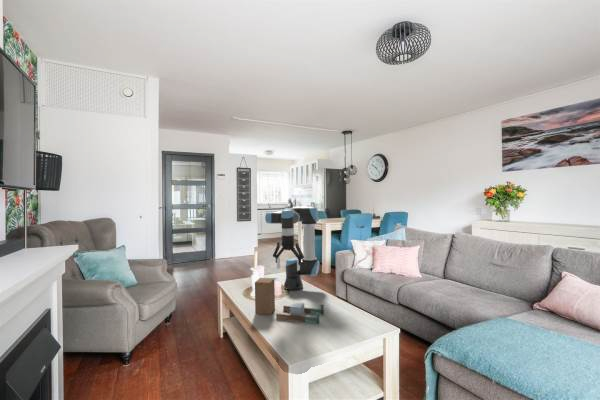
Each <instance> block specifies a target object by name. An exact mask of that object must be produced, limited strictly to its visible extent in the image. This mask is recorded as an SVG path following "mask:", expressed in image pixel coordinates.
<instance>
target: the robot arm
mask: <svg viewBox="0 0 600 400" xmlns="http://www.w3.org/2000/svg"><path fill="white" fill-rule="evenodd" d="M264 218H265V223H266V224H271V225H272V224H280V225H281V241H278V242H277V243H276V248H275V249H274V252H273V254H272V257H273V258H275V263H276V269H277V270H279V269H281V258H280V257H281V254H282V253H283V252H284V251H291V252H292V253H293V254H294V256H295V257H292V258H288V259H286V260H285V280H284V281H285V282H284V284H283V288H284V287H285V288H287V289H289V290H288V291H299V290H302V289H304V288H303V287H304V284H303V281H302V278H301V277H302V276H306V277H307V276H308V277H309V276H310V277H315V276H317V275H318V274H319V270H320V261H319V260H318V258H317V257H316V240H315V239H316V238H315V237H316V235H315V234H316V233H315V231H316V230H315V228H316V227H315V226H317V222H319V219H320V216H319V211H318V209H317V207H316V206H294V207H290V208H287V209H283V210H280V211H274V212H272V211H270V212H269V211H267V212H266V213H265V217H264ZM299 222H301V225H302V226H303V251H302V249H301V247H300V243H299V242H297V243H295V229H294V227H295V226H294V224H297V223H299ZM281 246H282V247H281ZM280 247H281V249H280ZM285 288H284V289H285Z"/></svg>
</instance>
